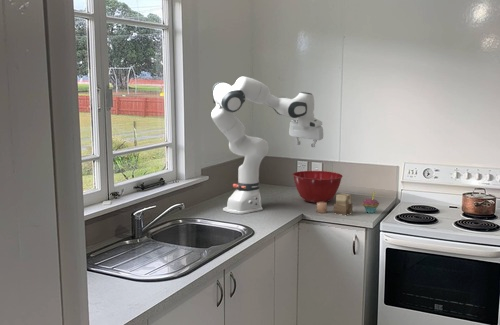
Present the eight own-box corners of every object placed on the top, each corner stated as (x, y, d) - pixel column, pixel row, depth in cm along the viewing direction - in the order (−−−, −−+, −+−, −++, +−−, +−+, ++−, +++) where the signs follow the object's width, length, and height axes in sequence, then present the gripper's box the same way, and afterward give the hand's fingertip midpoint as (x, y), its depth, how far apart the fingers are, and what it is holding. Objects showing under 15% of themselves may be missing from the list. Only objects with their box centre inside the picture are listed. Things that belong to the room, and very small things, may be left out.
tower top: (345, 206, 265) (345, 196, 264) (335, 204, 268) (336, 195, 268) (350, 204, 269) (350, 194, 268) (341, 202, 272) (341, 193, 272)
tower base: (345, 215, 265) (345, 206, 264) (333, 213, 269) (334, 204, 268) (352, 213, 270) (352, 203, 269) (340, 211, 274) (340, 202, 274)
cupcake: (380, 211, 273) (381, 189, 271) (375, 215, 266) (376, 192, 264) (365, 209, 278) (366, 187, 276) (359, 212, 271) (360, 190, 269)
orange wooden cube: (323, 213, 268) (323, 204, 268) (314, 212, 272) (314, 203, 271) (328, 211, 272) (328, 202, 272) (319, 210, 276) (320, 201, 275)
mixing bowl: (319, 193, 318) (319, 168, 315) (352, 202, 294) (353, 175, 292) (282, 198, 302) (282, 173, 300) (314, 208, 279) (314, 180, 276)
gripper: (286, 120, 286) (286, 144, 290) (319, 124, 274) (318, 149, 278) (292, 118, 291) (292, 142, 295) (325, 122, 279) (324, 147, 283)
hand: (305, 145), depth 287 cm, fingers open, 8 cm apart
